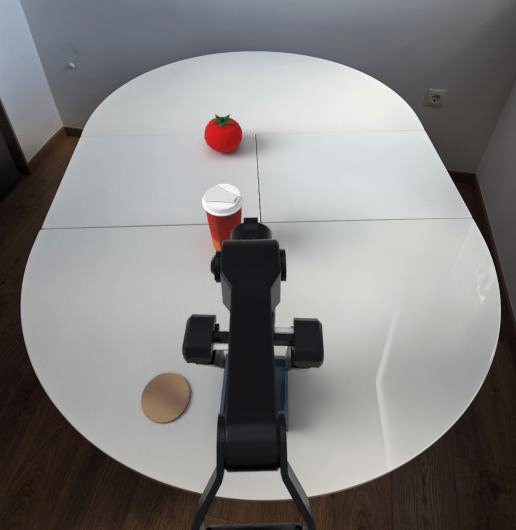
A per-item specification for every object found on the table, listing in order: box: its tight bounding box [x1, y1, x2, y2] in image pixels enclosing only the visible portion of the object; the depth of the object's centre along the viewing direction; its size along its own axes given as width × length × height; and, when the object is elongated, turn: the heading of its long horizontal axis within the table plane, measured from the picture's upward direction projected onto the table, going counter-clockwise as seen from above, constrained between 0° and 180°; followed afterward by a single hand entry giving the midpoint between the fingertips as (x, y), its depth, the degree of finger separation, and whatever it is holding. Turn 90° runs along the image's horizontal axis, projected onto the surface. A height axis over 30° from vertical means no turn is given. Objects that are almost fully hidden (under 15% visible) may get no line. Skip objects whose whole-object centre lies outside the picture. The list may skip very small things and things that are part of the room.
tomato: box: [203, 114, 243, 154], centre depth 117 cm, size 10×10×10 cm
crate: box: [219, 352, 289, 432], centre depth 71 cm, size 11×11×4 cm
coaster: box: [140, 372, 191, 424], centre depth 72 cm, size 8×8×1 cm
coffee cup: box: [201, 183, 244, 251], centre depth 90 cm, size 8×8×15 cm
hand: (254, 366), depth 64 cm, fingers open, 9 cm apart
